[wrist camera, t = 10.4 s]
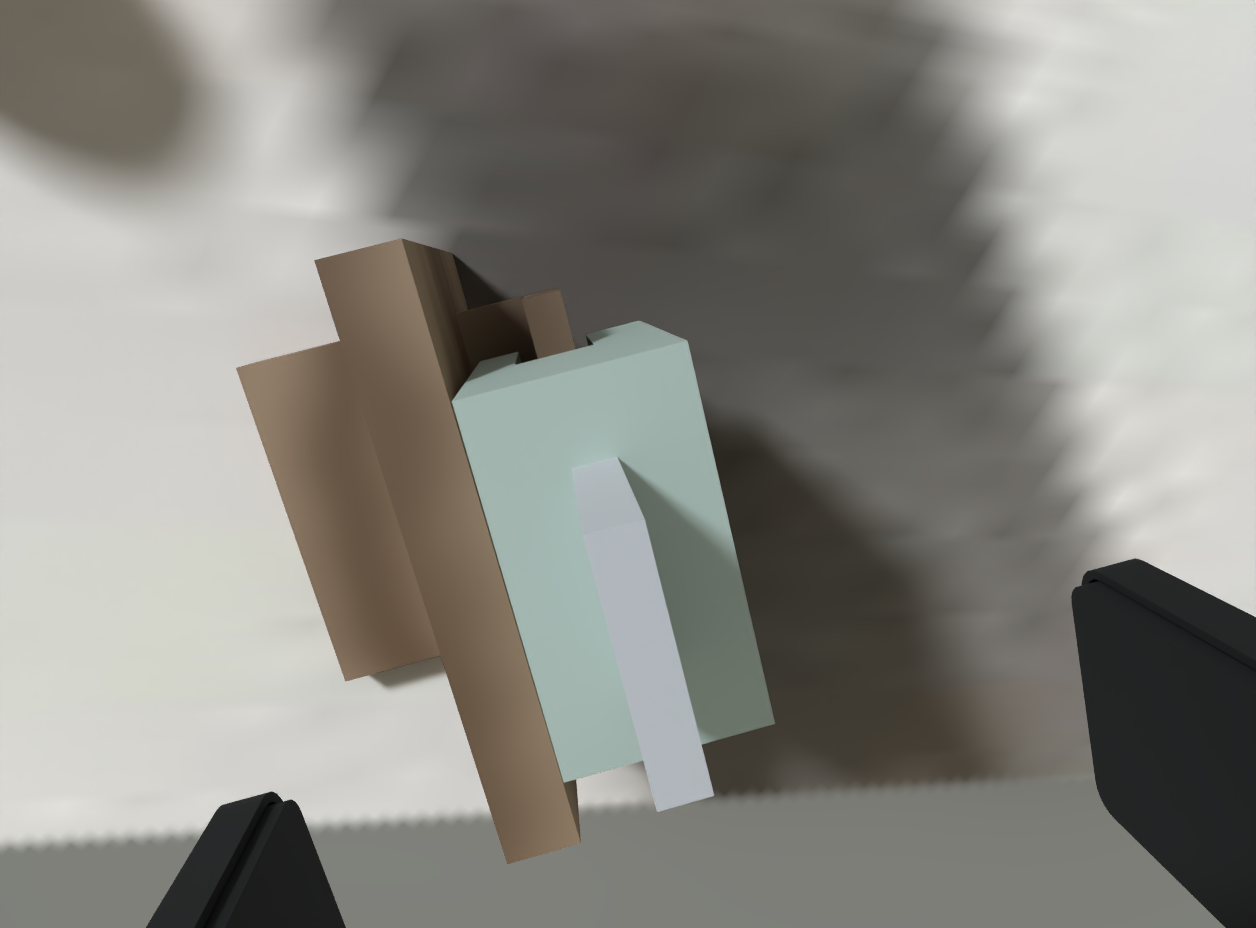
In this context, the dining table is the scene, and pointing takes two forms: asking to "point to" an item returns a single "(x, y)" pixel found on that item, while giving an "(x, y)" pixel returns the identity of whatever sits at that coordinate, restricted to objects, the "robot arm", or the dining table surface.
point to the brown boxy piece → (416, 506)
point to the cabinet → (617, 554)
